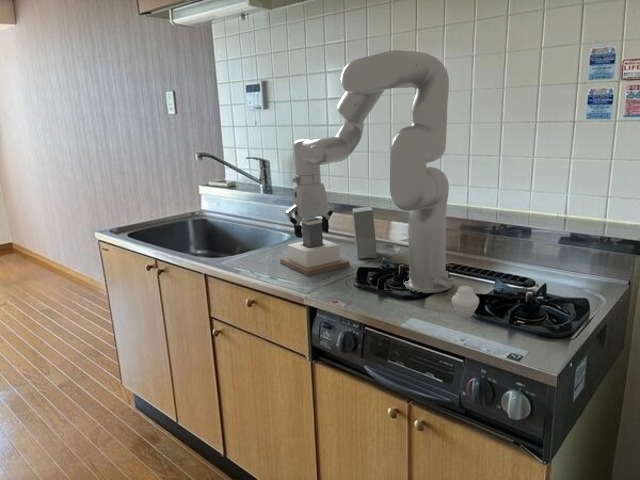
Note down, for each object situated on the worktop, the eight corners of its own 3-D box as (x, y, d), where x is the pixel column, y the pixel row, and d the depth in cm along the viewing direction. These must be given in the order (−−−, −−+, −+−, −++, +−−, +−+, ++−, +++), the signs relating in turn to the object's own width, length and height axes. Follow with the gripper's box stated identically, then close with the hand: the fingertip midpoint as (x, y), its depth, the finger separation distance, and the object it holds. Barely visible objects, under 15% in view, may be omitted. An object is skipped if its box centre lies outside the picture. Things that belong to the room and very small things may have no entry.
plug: (323, 247, 160) (321, 219, 158) (310, 249, 158) (308, 221, 155) (315, 244, 164) (314, 216, 162) (303, 246, 162) (301, 219, 159)
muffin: (465, 307, 120) (465, 279, 119) (485, 315, 115) (485, 286, 114) (445, 313, 118) (445, 285, 116) (464, 322, 112) (464, 292, 111)
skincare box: (377, 258, 164) (375, 210, 160) (355, 259, 164) (353, 211, 161) (375, 251, 172) (373, 205, 168) (354, 252, 173) (351, 206, 169)
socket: (349, 265, 158) (348, 245, 157) (307, 276, 151) (306, 255, 149) (319, 254, 173) (318, 235, 172) (280, 262, 166) (278, 243, 164)
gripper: (289, 184, 148) (293, 241, 152) (338, 177, 157) (341, 231, 161) (277, 182, 154) (282, 237, 159) (326, 175, 163) (329, 227, 167)
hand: (312, 234), depth 160 cm, fingers open, 9 cm apart
